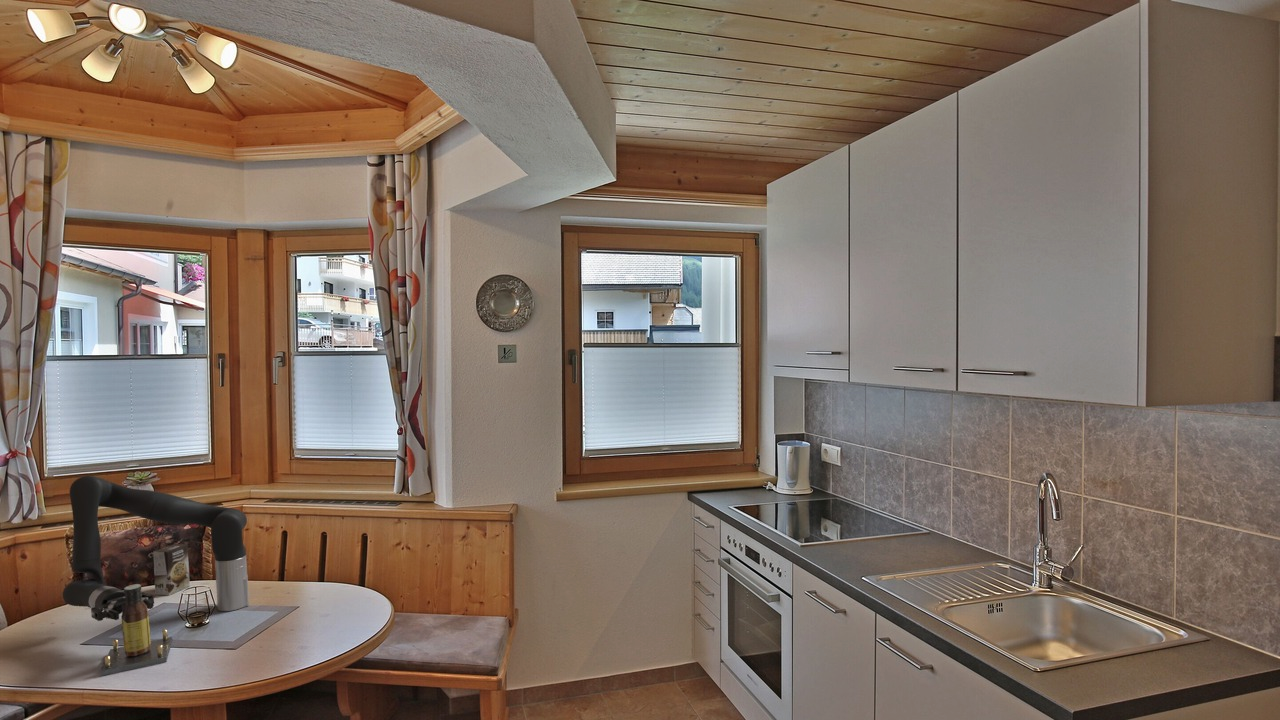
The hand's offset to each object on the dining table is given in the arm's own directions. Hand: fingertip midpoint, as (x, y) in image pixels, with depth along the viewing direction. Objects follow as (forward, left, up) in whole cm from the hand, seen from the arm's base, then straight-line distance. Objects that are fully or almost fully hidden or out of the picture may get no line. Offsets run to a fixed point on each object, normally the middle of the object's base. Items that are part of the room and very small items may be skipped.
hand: (134, 610), depth 196 cm
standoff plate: (0, 0, -14) cm, 14 cm away
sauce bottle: (0, 0, -13) cm, 13 cm away
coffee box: (-3, -59, -14) cm, 60 cm away
